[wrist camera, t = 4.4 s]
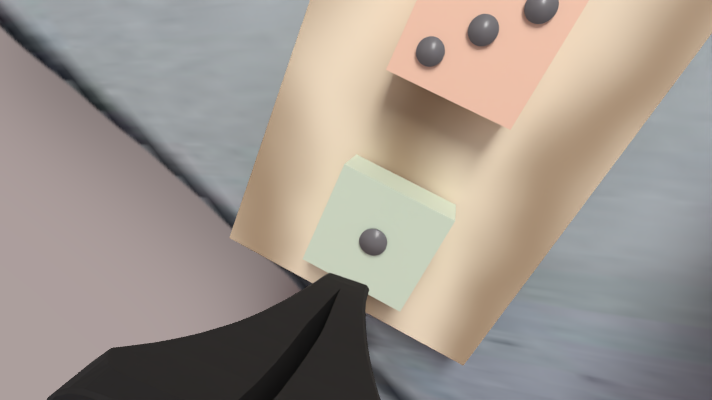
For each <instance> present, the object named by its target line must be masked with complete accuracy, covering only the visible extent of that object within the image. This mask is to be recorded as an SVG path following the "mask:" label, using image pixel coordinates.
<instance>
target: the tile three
mask: <svg viewBox="0 0 712 400" xmlns="http://www.w3.org/2000/svg"><path fill="white" fill-rule="evenodd" d="M588 1H589V0H417V1H416V3H415V5H414V8H413V10H412V12H411V14H410V17H409V19H408V21H407V23H406V26H405V28H404V30H403V33H402V35H401V37H400V39H399V42H398V44H397V46H396V48H395V51H394V53H393V55H392V57H391V60H390V62H389V64H388V66H387V69H386V70H387V71H389V72H391V73H394V74H396V75H398V76H400V77H402V78H404V79H406V80H408V81H410V82H412V83H414V84H416V85H418V86H420V87H423V88H425V89H427V90H429V91H431V92H433V93H435V94H437V95H439V96H441V97H443V98H445V99H447V100H449V101H452V102H454V103H456V104H458V105H460V106H462V107H464V108H466V109H468V110H470V111H472V112H474V113H476V114H478V115H481V116H483V117H485V118H487V119H489V120H491V121H493V122H495V123H497V124H499V125H501V126H503V127H505V128H507V129H510V130H511V128H512V126H513V125H514V123H515V122H516V120H517V118H518V117H519V115H520V113H521V112H522V110H523V108H524V107H525V105H526V103H527V102H528V100H529V98H530V97H531V95H532V94H533V92H534V90H535V89H536V87H537V85H538V84H539V82H540V80H541V79H542V77H543V75H544V74H545V72H546V70H547V69H548V67H549V65H550V64H551V62H552V61H553V59H554V57H555V56H556V54H557V52H558V51H559V49H560V47H561V46H562V44H563V42H564V41H565V39H566V37H567V36H568V34H569V33H570V31H571V29H572V28H573V26H574V24H575V23H576V21H577V19H578V18H579V16H580V14H581V13H582V11H583V9H584V8H585V6H586V4H587V3H588Z"/></svg>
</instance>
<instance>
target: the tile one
mask: <svg viewBox="0 0 712 400" xmlns="http://www.w3.org/2000/svg"><path fill="white" fill-rule="evenodd" d="M455 216H456V205H455V204H453V203H451V202H449V201H447V200H445V199H443V198H441V197H440V196H438V195H436V194H434V193H432V192H430V191H428V190H426V189H424V188H422V187H420V186H418V185H416V184H414V183H412V182H410V181H408V180H406V179H404V178H402V177H400V176H398V175H396V174H394V173H392V172H390V171H388V170H386V169H384V168H382V167H380V166H378V165H376V164H375V163H373V162H371V161H369V160H367V159H365V158H363V157H361V156H359V155H357V154H356V155H355V156H354V157H353V158H351V159H350V160H349V161H348V162H346V163H345V164H344V166H343V168H342V171H341V173H340V175H339V177H338V180H337V182H336V184H335V187H334V189H333V191H332V193H331V196H330V198H329V200H328V202H327V205H326V207H325V209H324V211H323V214H322V216H321V218H320V220H319V223H318V225H317V227H316V230H315V232H314V234H313V236H312V239H311V241H310V243H309V245H308V248H307V250H306V252H305V254H304V257H303V260H305V261H307V262H309V263H311V264H313V265H315V266H316V267H318V268H320V269H322V270H324V271H326V272H327V273H333V274H336V275H339V276H342V277H345V278H347V279H350V280H353V281H356V282H359V283H362V284H365V285H367V286H368V288H369V293H368V295H370V296H372V297H374V298H376V299H377V300H379V301H381V302H383V303H385V304H387V305H388V306H390V307H392V308H394V309H396V310H398V311H401V309H402V308H403V306H404V305H405V303H406V301H407V300H408V298H409V296H410V295H411V293H412V291H413V290H414V288H415V286H416V285H417V283H418V281H419V280H420V278H421V277H422V275H423V273H424V272H425V270H426V268H427V267H428V265H429V263H430V262H431V260H432V258H433V257H434V255H435V253H436V252H437V250H438V248H439V247H440V245H441V244H442V242H443V240H444V239H445V237H446V235H447V234H448V232H449V230H450V229H451V227H452V225H453V224H454V222H455Z"/></svg>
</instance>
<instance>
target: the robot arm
mask: <svg viewBox="0 0 712 400" xmlns="http://www.w3.org/2000/svg"><path fill="white" fill-rule="evenodd" d="M368 293H369V288H368V286H367V285H365V284H362V283H359V282H356V281H353V280H350V279H347V278H345V277H342V276H339V275H336V274H333V273H328V274H326V275H324V276H323V277H321V278H320V279H318V280H317V281H315V282H314V283H312V284H311V285H309V286H308V287H306V288H304V289H303V290H301V291H299V292H298V293H296V294H294V295H293V296H291V297H289V298H288V299H286V300H284V301H282V302H280V303H278V304H276V305H274V306H272V307H270V308H268V309H266V310H264V311H262V312H260V313H258V314H255V315H253V316H251V317H249V318H246V319H243V320H241V321H238V322H235V323H232V324H229V325H226V326H223V327H219V328H216V329H213V330H209V331H206V332H203V333H199V334H195V335H190V336H186V337H181V338H176V339H171V340H166V341H161V342H155V343H148V344H140V345H132V346H125V347H116V348H111V349H109V350H108V351H106V352H105V353H104V354H102V355H101V356H99V357H98V358H97V359H95V360H94V361H93V362H91V363H90V364H89V365H88V366H86V367H85V368H84V369H83V370H81V372H79V373H78V374H77V375H75V376H74V377H73V378H71V379H70V380H69V381H68V382H67V383H65V384H64V385H63V386H62V387H60V388H59V389H58V390H57V391H55V392H54V393H53V394H52V395H51V396H49V397H48V398H47V400H381V399H380V397H379V394H378V390H377V387H376V383H375V379H374V376H373V371H372V367H371V362H370V357H369V351H368V344H367V335H366V319H365V310H366V300H367V296H368Z"/></svg>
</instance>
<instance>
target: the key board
mask: <svg viewBox="0 0 712 400" xmlns="http://www.w3.org/2000/svg"><path fill="white" fill-rule="evenodd" d="M416 1H417V0H310V2H309V5H308V8H307V11H306V14H305V17H304V20H303V22H302V25H301V28H300V31H299V34H298V37H297V40H296V43H295V46H294V49H293V52H292V55H291V58H290V61H289V64H288V67H287V70H286V73H285V76H284V78H283V81H282V84H281V87H280V90H279V93H278V96H277V99H276V102H275V105H274V108H273V111H272V114H271V117H270V120H269V123H268V126H267V129H266V132H265V135H264V137H263V140H262V143H261V146H260V149H259V152H258V155H257V158H256V161H255V164H254V167H253V170H252V173H251V176H250V179H249V182H248V185H247V188H246V191H245V193H244V196H243V199H242V202H241V205H240V208H239V211H238V214H237V217H236V220H235V223H234V226H233V229H232V232H231V235H230V239H232V240H234V241H236V242H238V243H240V244H241V245H243V246H245V247H247V248H249V249H251V250H252V251H254V252H256V253H258V254H260V255H262V256H263V257H265V258H267V259H269V260H271V261H273V262H274V263H276V264H278V265H280V266H282V267H284V268H285V269H287V270H289V271H291V272H293V273H295V274H296V275H298V276H300V277H302V278H304V279H306V280H307V281H309V282H311V283H314V282H315V281H317V280H318V279H320V278H321V277H323V276H324V275H326V274H328V273H327V272H326V271H324V270H322V269H320V268H318V267H316V266H315V265H313V264H311V263H309V262H307V261H305V260H303V257H304V254H305V252H306V250H307V248H308V245H309V243H310V241H311V239H312V236H313V234H314V232H315V230H316V227H317V225H318V223H319V220H320V218H321V216H322V214H323V211H324V209H325V207H326V205H327V202H328V200H329V198H330V196H331V193H332V191H333V189H334V187H335V184H336V182H337V180H338V177H339V175H340V173H341V171H342V168H343V166H344V164H345V163H346V162H348V161H349V160H350V159H351V158H353V157H354V156H355V155H356V154H357V155H359V156H361V157H363V158H365V159H367V160H369V161H371V162H373V163H375V164H376V165H378V166H380V167H382V168H384V169H386V170H388V171H390V172H392V173H394V174H396V175H398V176H400V177H402V178H404V179H406V180H408V181H410V182H412V183H414V184H416V185H418V186H420V187H422V188H424V189H426V190H428V191H430V192H432V193H434V194H436V195H438V196H440V197H441V198H443V199H445V200H447V201H449V202H451V203H453V204H455V205H456V216H455V222H454V224H453V225H452V227H451V229H450V230H449V232H448V234H447V235H446V237H445V239H444V240H443V242H442V244H441V245H440V247H439V248H438V250H437V252H436V253H435V255H434V257H433V258H432V260H431V262H430V263H429V265H428V267H427V268H426V270H425V272H424V273H423V275H422V277H421V278H420V280H419V281H418V283H417V285H416V286H415V288H414V290H413V291H412V293H411V295H410V296H409V298H408V300H407V301H406V303H405V305H404V306H403V308H402V309H401V311H398V310H396V309H394V308H392V307H390V306H388V305H387V304H385V303H383V302H381V301H379V300H377V299H376V298H374V297H372V296H370V295H368V296H367V300H366V310H365V312H366V313H368V314H370V315H372V316H373V317H375V318H377V319H379V320H381V321H383V322H384V323H386V324H388V325H390V326H392V327H394V328H395V329H397V330H399V331H401V332H403V333H405V334H406V335H408V336H410V337H412V338H414V339H416V340H417V341H419V342H421V343H423V344H425V345H427V346H428V347H430V348H432V349H434V350H436V351H438V352H439V353H441V354H443V355H445V356H447V357H449V358H450V359H452V360H454V361H456V362H458V363H460V364H461V365H464V364H465V363H466V361H467V360H468V359H469V357H470V356H471V354H472V353H473V352H474V350H475V349H476V348H477V346H478V345H479V344H480V342H481V341H482V340H483V338H484V337H485V336H486V334H487V333H488V332H489V330H490V329H491V328H492V326H493V325H494V324H495V322H496V321H497V320H498V318H499V317H500V316H501V314H502V313H503V312H504V310H505V309H506V308H507V306H508V305H509V304H510V302H511V301H512V300H513V298H514V297H515V296H516V294H517V293H518V292H519V290H520V289H521V288H522V286H523V285H524V284H525V282H526V281H527V280H528V278H529V277H530V276H531V274H532V273H533V272H534V270H535V269H536V268H537V266H538V265H539V264H540V262H541V261H542V260H543V258H544V257H545V256H546V254H547V253H548V252H549V250H550V249H551V248H552V246H553V245H554V244H555V242H556V241H557V239H558V238H559V237H560V235H561V234H562V233H563V231H564V230H565V229H566V227H567V226H568V225H569V223H570V222H571V221H572V219H573V218H574V217H575V215H576V214H577V213H578V211H579V210H580V209H581V207H582V206H583V205H584V203H585V202H586V201H587V199H588V198H589V197H590V195H591V194H592V193H593V191H594V190H595V189H596V187H597V186H598V185H599V183H600V182H601V181H602V179H603V178H604V177H605V175H606V174H607V173H608V171H609V170H610V169H611V167H612V166H613V165H614V163H615V162H616V161H617V159H618V158H619V157H620V155H621V154H622V153H623V151H624V150H625V149H626V147H627V146H628V145H629V143H630V142H631V141H632V139H633V138H634V137H635V135H636V134H637V133H638V131H639V130H640V129H641V127H642V126H643V124H644V123H645V122H646V120H647V119H648V118H649V116H650V115H651V114H652V112H653V111H654V110H655V108H656V107H657V106H658V104H659V103H660V102H661V100H662V99H663V98H664V96H665V95H666V94H667V92H668V91H669V90H670V88H671V87H672V86H673V84H674V83H675V82H676V80H677V79H678V78H679V76H680V75H681V74H682V72H683V71H684V70H685V68H686V67H687V66H688V64H689V63H690V62H691V60H692V59H693V58H694V56H695V55H696V54H697V52H698V51H699V50H700V48H701V47H702V46H703V44H704V43H705V42H706V40H707V39H708V38H709V36H710V35H711V34H712V0H589V1H588V3H587V4H586V6H585V8H584V9H583V11H582V13H581V14H580V16H579V18H578V19H577V21H576V23H575V24H574V26H573V28H572V29H571V31H570V33H569V34H568V36H567V37H566V39H565V41H564V42H563V44H562V46H561V47H560V49H559V51H558V52H557V54H556V56H555V57H554V59H553V61H552V62H551V64H550V65H549V67H548V69H547V70H546V72H545V74H544V75H543V77H542V79H541V80H540V82H539V84H538V85H537V87H536V89H535V90H534V92H533V94H532V95H531V97H530V98H529V100H528V102H527V103H526V105H525V107H524V108H523V110H522V112H521V113H520V115H519V117H518V118H517V120H516V122H515V123H514V125H513V126H512V128H511V130H510V129H507V128H505V127H503V126H501V125H499V124H497V123H495V122H493V121H491V120H489V119H487V118H485V117H483V116H481V115H478V114H476V113H474V112H472V111H470V110H468V109H466V108H464V107H462V106H460V105H458V104H456V103H454V102H452V101H449V100H447V99H445V98H443V97H441V96H439V95H437V94H435V93H433V92H431V91H429V90H427V89H425V88H423V87H420V86H418V85H416V84H414V83H412V82H410V81H408V80H406V79H404V78H402V77H400V76H398V75H396V74H394V73H391V72H389V71H387V70H386V69H387V66H388V64H389V62H390V60H391V57H392V55H393V53H394V51H395V48H396V46H397V44H398V42H399V39H400V37H401V35H402V33H403V30H404V28H405V26H406V23H407V21H408V19H409V17H410V14H411V12H412V10H413V8H414V5H415V3H416Z"/></svg>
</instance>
